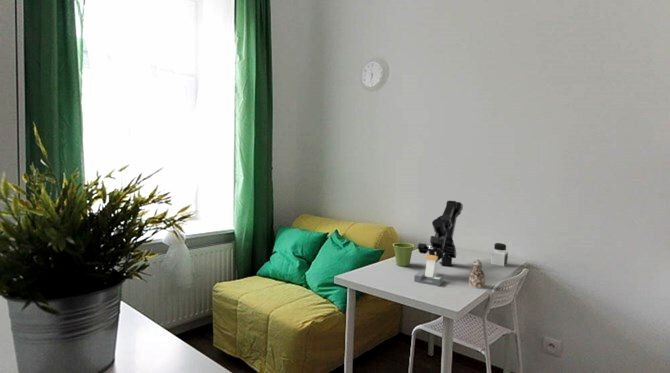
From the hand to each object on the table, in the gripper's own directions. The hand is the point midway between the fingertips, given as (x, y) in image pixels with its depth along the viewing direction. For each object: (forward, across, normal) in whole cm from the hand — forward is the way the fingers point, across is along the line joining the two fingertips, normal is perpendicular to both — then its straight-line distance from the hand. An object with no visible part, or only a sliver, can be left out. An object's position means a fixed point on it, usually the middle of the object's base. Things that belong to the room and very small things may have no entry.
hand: (433, 264), depth 185 cm
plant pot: (-5, -20, +14) cm, 26 cm away
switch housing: (+9, 0, +1) cm, 9 cm away
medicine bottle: (-28, +25, +38) cm, 53 cm away
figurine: (+4, +21, +5) cm, 22 cm away
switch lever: (+7, 0, -1) cm, 7 cm away
